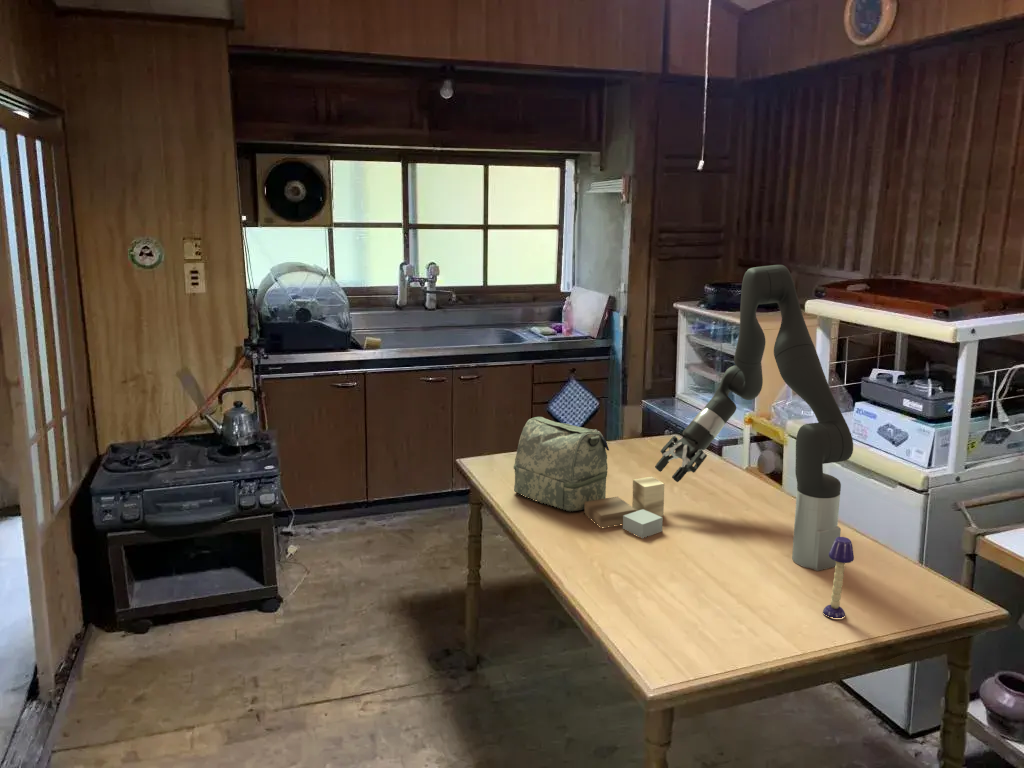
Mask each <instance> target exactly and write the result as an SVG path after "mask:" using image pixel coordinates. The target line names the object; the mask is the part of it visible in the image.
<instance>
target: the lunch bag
mask: <svg viewBox="0 0 1024 768" xmlns="http://www.w3.org/2000/svg"><path fill="white" fill-rule="evenodd" d="M520 433H521V434H520V437H519V440H518V446H517V450H516V454H515V455H516V456H515V458H514V464H513V470H514V487H513V490H514V493H515V492H517V493H519V494H522V495H524V496H526V497H529V498H532V499H534V500H537V501H538V502H541V503H540V504H543V503H544V504H543V505H546V504H547V505H546V506H549V505H551V506H550V507H552V506H554V507H553V508H556V507H557V509H559V508H560V510H562V509H563V510H562V511H565V510H566V512H571V511H572V512H576V511H583V510H584V502H587V501H593V500H599V499H605V498H606V492H607V491H606V490H607V477H608V454H607V451H610V449H609V446H608V442H607V440H606V439H605V438H604V437H605V436H603V434H602V432H601V431H600V430H598V429H596V428H595V429H591V428H586V427H581V426H578V425H573V424H570V423H562V422H557V421H554V420H550V419H548V418H545V417H543V416H535V417H532V418H529V419H528V420H527V421H526V423H525V425H524V426H523V428H522V431H521V432H520ZM517 493H516V494H517ZM519 494H518V495H519ZM526 497H525V498H526ZM534 500H533V501H534ZM538 502H537V503H538Z"/></svg>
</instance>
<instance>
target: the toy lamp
mask: <svg viewBox="0 0 1024 768" xmlns="http://www.w3.org/2000/svg"><path fill="white" fill-rule="evenodd" d="M853 549H854V548H853V543H852V540H851V539H850V538H848V537H845V536H840V537H837V538H836V539H835V540H834V543H833V545H832V547H831V549H830V552H829V557H830V558H831V559H832V560H834V561H836V566H835V567H834V573H833V577H834V578H833V581H832V583H833V586H832V589H831V590H832V593H831V596H830V597H831V600H830V602H829V603H830V604H828V605H826V606H825V607H824V608H823V610H822V614H823V613H824V614H825V615H827V616H829V617H833V618H842V617H844V616H845V617H846V612H845V610H844V609H843V608H842V607H841V606H840V605H841V602H840V600H841V593H842V592H843V590H842V589H843V588H842V586H843V584H844V582H843V579H844V572H845V565H846V564H849V563H852V562H853V561H854V560H855V556H854V550H853ZM824 614H823V615H824ZM825 615H824V616H825Z"/></svg>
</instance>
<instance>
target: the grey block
mask: <svg viewBox="0 0 1024 768" xmlns="http://www.w3.org/2000/svg"><path fill="white" fill-rule="evenodd" d="M623 529H625V530H627V531H629V532H628V533H630V532H631V533H630V534H632V533H633V534H632V535H634V534H635V535H634V536H636V535H637V536H636V537H638V536H639V537H638V538H640V537H641V539H645V538H648V537H651V536H653V535H655V534H656V535H657V534H658V533H661V532H663V516H658V515H656V514H653V513H651V512H649V511H646V510H644V509H642V510H639V511H636V512H633V513H630V514H627V515H624V516H623V525H622V530H623ZM625 530H624V531H625ZM627 531H626V532H627ZM647 536H648V537H647ZM644 537H645V538H644Z"/></svg>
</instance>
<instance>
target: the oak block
mask: <svg viewBox="0 0 1024 768" xmlns="http://www.w3.org/2000/svg"><path fill="white" fill-rule="evenodd" d="M631 506H632V507H633V508H634V509H636V511H639V510H642V509H644V510H646V511H649V512H651V513H653V514H656V515H658V516H660V517H663V516H664V511H665V509H664V507H665V483H663V482H662V481H660V480H659V479H658V478H655V477H654V476H647V477H641V478H635V479H632V505H631Z"/></svg>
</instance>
